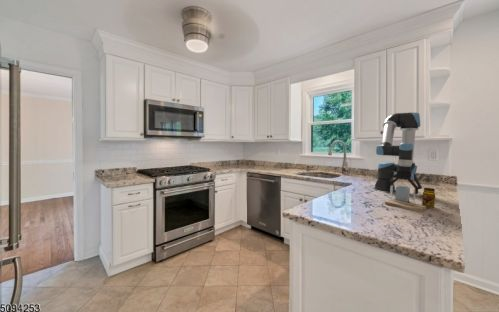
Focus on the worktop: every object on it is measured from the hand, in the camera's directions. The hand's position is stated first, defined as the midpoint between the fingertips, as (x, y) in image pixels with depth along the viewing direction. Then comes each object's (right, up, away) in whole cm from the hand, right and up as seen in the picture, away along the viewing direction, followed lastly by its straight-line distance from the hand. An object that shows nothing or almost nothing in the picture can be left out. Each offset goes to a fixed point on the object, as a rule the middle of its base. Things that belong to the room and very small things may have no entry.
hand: (402, 196), depth 150 cm
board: (-6, -4, -11) cm, 13 cm away
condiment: (+8, -5, -11) cm, 14 cm away
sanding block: (0, -3, 0) cm, 3 cm away
